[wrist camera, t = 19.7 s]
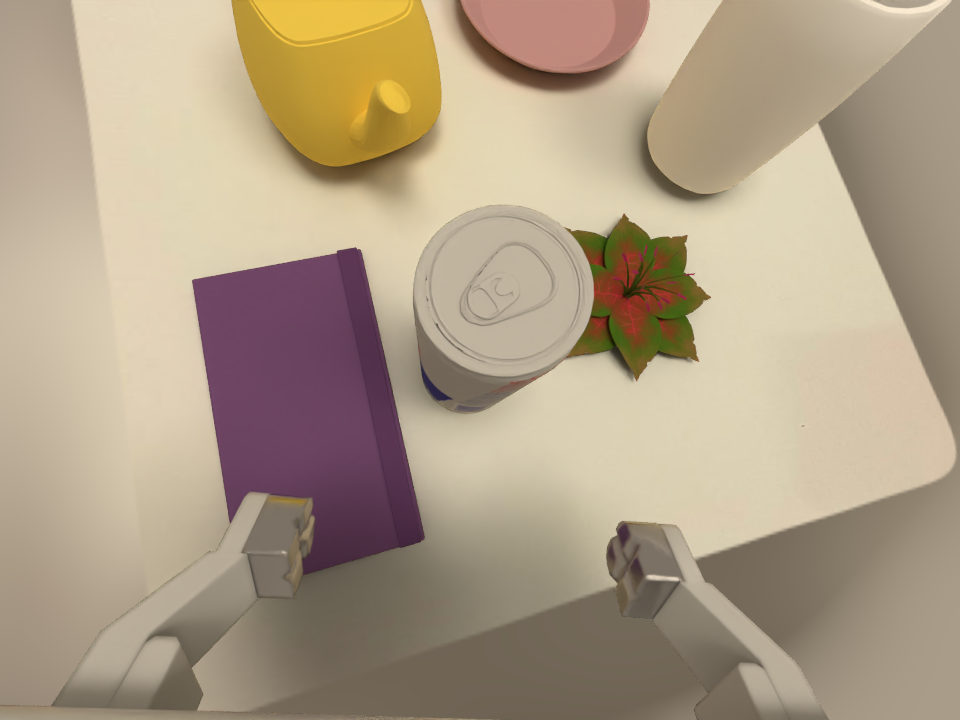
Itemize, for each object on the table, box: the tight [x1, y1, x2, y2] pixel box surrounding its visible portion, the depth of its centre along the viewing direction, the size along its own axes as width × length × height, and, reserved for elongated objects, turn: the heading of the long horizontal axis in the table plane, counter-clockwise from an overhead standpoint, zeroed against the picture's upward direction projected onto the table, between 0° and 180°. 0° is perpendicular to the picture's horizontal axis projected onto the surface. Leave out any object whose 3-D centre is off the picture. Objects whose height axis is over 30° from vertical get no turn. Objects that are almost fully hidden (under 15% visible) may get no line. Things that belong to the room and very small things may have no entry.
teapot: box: [232, 0, 441, 166], centre depth 25 cm, size 18×11×11 cm, turn 26°
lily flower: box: [564, 214, 711, 382], centre depth 27 cm, size 12×12×5 cm
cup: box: [647, 0, 952, 194], centre depth 25 cm, size 8×8×14 cm
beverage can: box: [413, 205, 594, 413], centre depth 20 cm, size 6×6×15 cm
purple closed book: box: [192, 248, 425, 575], centre depth 26 cm, size 18×10×1 cm, turn 14°
